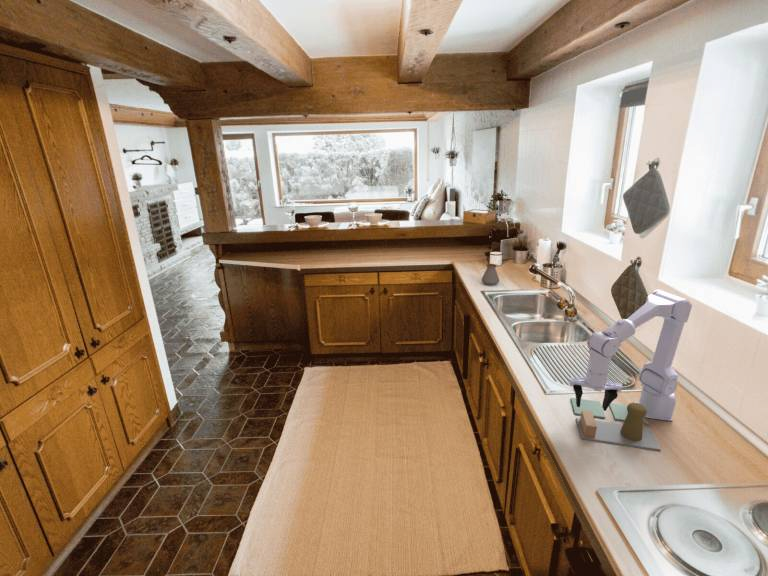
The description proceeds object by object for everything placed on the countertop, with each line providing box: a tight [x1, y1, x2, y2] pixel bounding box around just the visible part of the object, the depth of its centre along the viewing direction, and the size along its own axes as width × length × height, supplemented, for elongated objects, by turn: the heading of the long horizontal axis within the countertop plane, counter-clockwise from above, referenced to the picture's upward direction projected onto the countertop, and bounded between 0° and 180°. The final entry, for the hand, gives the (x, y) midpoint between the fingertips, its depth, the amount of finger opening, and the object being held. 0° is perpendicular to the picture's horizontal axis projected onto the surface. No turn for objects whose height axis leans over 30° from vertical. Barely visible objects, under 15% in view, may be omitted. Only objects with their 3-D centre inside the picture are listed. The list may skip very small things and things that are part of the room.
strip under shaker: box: [575, 410, 662, 452], centre depth 128 cm, size 22×10×5 cm, turn 75°
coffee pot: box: [481, 255, 500, 287], centre depth 267 cm, size 21×12×15 cm, turn 177°
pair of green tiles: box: [570, 397, 648, 425], centre depth 139 cm, size 22×9×1 cm, turn 75°
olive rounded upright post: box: [620, 402, 647, 441], centre depth 126 cm, size 6×6×11 cm
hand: (590, 407), depth 128 cm, fingers open, 7 cm apart
